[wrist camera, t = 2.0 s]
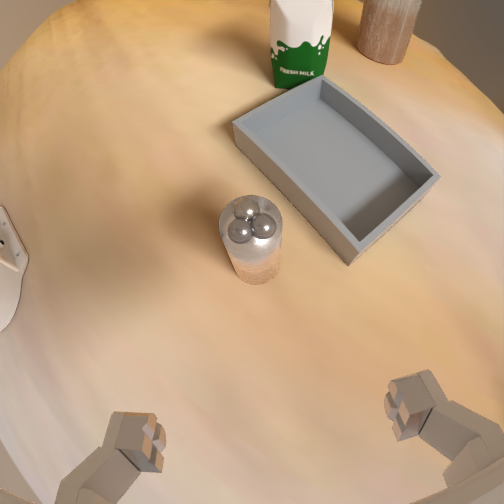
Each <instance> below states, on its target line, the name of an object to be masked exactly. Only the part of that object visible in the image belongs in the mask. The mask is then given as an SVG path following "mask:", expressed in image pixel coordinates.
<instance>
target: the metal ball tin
mask: <svg viewBox="0 0 504 504" xmlns="http://www.w3.org/2000/svg"><path fill="white" fill-rule="evenodd" d="M219 232H220V235H221V238H222V240H223V243H224V245H225V247H226V250H227V252H228V255H229V257H230V259H231V262H232V264H233V267H234V269H235V271H236V273H237V275H238V276H239V277H240V279H242V280H243V281H244V282H246V283H249V284H253V285H259V284H264V283H266V282H268V281H270V280H271V279H272V278H273V277H274V276H275V275H276V273H277V271H278V268H279V261H280V249H281V237H282V217H281V214H280V211H279V210H278V208H277V207H276V206H275V205H274V204H273V203H272V202H271V201H270V200H268V199H266V198H264V197H261V196H256V195H247V196H242V197H239V198H237V199H235V200H233V201H231V202H230V203H229V204H228V205H227V206H226V207H225V208H224V210H223V211H222V213H221V215H220V218H219Z"/></svg>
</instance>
